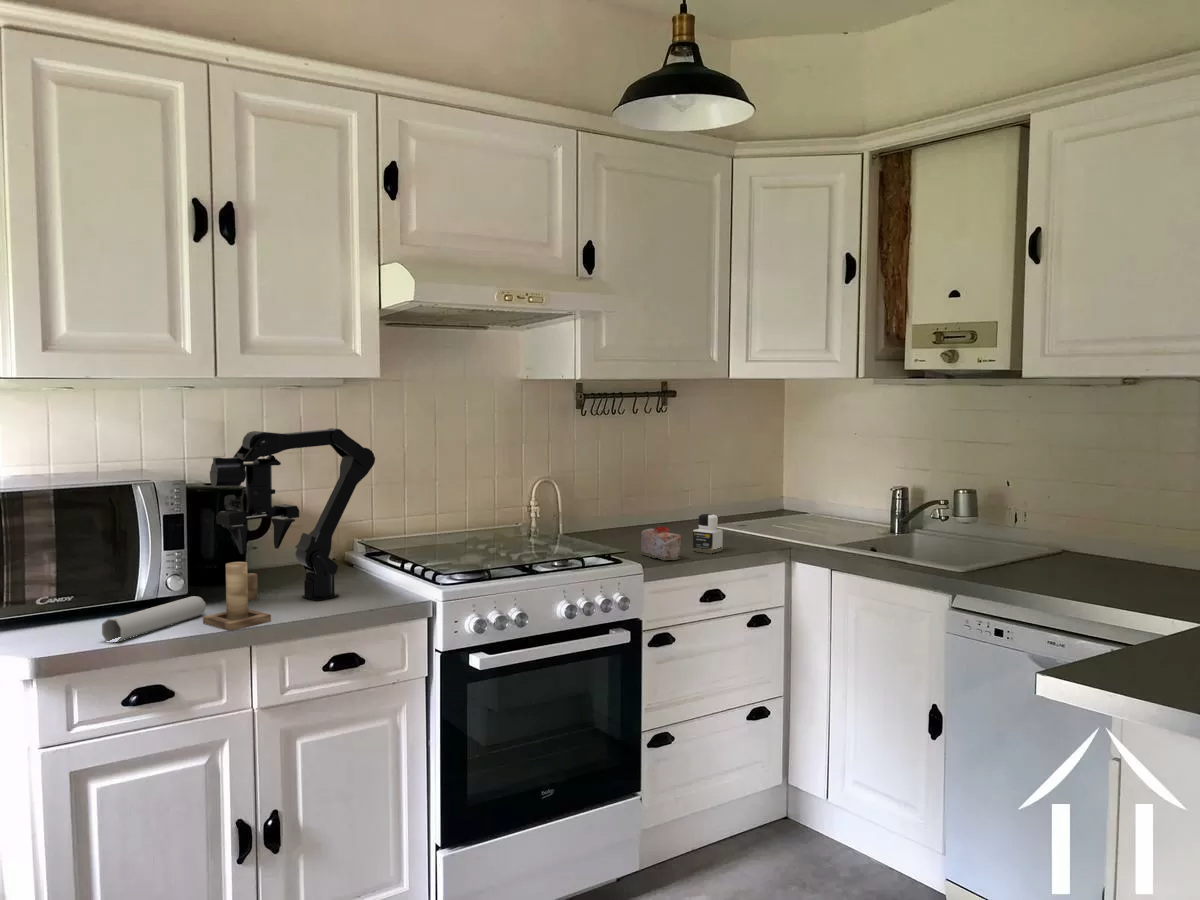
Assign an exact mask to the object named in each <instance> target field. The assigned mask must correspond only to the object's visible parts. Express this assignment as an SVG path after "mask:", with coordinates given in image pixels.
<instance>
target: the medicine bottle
mask: <svg viewBox="0 0 1200 900" xmlns="http://www.w3.org/2000/svg"><path fill="white" fill-rule="evenodd" d="M718 521H719V519H718V516H717V515H716V514H713V513H702V514H700V515H698V528H696V529H693V530H692V549H693V548H701V549H710V550H713V549H717V548H720V547H722V548H723V540H724V539H723V534H724V531H723V529H721V528H718V527H719V526H718Z"/></svg>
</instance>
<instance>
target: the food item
mask: <svg viewBox="0 0 1200 900" xmlns="http://www.w3.org/2000/svg"><path fill="white" fill-rule="evenodd" d="M640 533H641V534H640V535H641V537H640V540H641V541H640V552H641V551H642V552H645V553H650V554H652V555H655V556H658V557H661V558H664V559H665V558H675V557H678V556H679V557H680V552H681V547H682V546H681V541H682V537H681V536H682V535H681V534H678V533H673V532H672V533H671V531H670V529H669V528H668V527H667V526H666V527H665V526H663V527H662V526H661V525H660V526H657V527H654V528H647V529H643V530H642V531H641V532H640Z"/></svg>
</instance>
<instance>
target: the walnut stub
mask: <svg viewBox="0 0 1200 900" xmlns="http://www.w3.org/2000/svg"><path fill="white" fill-rule="evenodd" d="M247 582H248V602H253V601H252V600H255V601H257V600H258V599H257V598H259V597H258V574H257V573H254V572H253V573H252V572H249V573H248V572H247ZM256 599H257V600H256Z"/></svg>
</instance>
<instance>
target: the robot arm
mask: <svg viewBox="0 0 1200 900" xmlns="http://www.w3.org/2000/svg"><path fill="white" fill-rule="evenodd" d="M322 446H331V448H332V449H333V450H334V451H335V452H336V454H337V455H339V456H340V458H341V461H340V465H339V477H338V479H337V481H336V483H335V485H334V487H333V490H332V492H331V494H330V496H329V498H328V500H327V502H326V504H325V506H324V508H323V509H322V512H321V514H320V516H319V518H318V521H316V522H317V523H316V524H315V526H314V528H313V529H312V530H311V531H310V532H309V533H305V532H302V534H301V536H300V540H299V542H298V543H297V544H296V545H295V546H294V548H295V549H296V551H295V557H296V560H297V562H298V564H300V565H302V568H303V570H304V571H306V572H305V579H304V581H303V582H304V584H303V585H304V587H303V588H304V589H303V590H304V594H302V595H301V598H304V599H308V600H311V601H315V602H316V601H317V602H318V601H324V600H328V599H331V598H332V599H333V598H337V597H339V595H340V594H339V593H335V592H336V591H335V586H336V584H335V582H336V581H335V575H336V574H337V572H338V568H339V565H338V564H337V563H336V562H334V560H332V558H330V555H331V551H332V544H333V543H332V541H333V537H334V533H335V531H336V529H337V527H338V524H339V523H340V520H341V518H342V516H343V514H344V512H345V509H346V508H347V505H348V504H349V503H350V500H351V498H352V496H353V493H354V491H355V489H356V487H357V485H358V484H359V483H360V482H361V481H362V480H363V479H364V478H365V477H367V475H368V474H369V472H370V471H371V469H372V468H374V467H373V466H374V465H375V462H376V457H375V453H374V452H373V451H372V450H371V448H368V447H363V446H362V445H361V444H360V443H359V442H357V441H355V440H354V439H353V438H352V437H350V436H348V435H347V434H346V433H345V432H344V431H343V430H342V429H340V428H334V427H330V428H327V429H320V430H319V429H318V430H317V429H316V430H308V431H297V432H285V433H280V432H269V431H261V430H260V431H259V430H258V431H257V430H253V431H249V432H247V433H246V434H245V435H244V436H243V439H242V444H241V446H240V447H239V448H238V449H237V452H236V453H234V455H233V457H214V456H213V457H212V464H211V466H210V471H209V479H210V485H211V486H212V488H229V487H232V488H233V487H240V486H241V484H242V483H244V482H245V488H242V491H241V496H236V495H235V494H228V495H226V496H224V499H223V500H224V503H223V505H224V508H225V509H226V510H222V511H219V512H218V513H217V515H216V525H221V526H222V528H226V529H227V530H228V531H229V532H230V534H231V535H232V537H233V539H234V542H235V544H236V546H237V550H238V552H239V553H240V555H245V551H246V546H247V534H248V525H245V523H246V522H247V521H250V520H251V521H252V520H259V519H267V518H270V521H271V523H272V525H273V547H274V549H276V550H278V549H279V548H280V547H281V544H282V543H283V540H284V538H285V536H286V534H287V532H288V530H289V528H290V527H291V525H292V523H293V522H295V521H296V519H295V518H300V516H301V513H300V508H299V507H298V505H296V504H295V505H293V504H286V503H285V504H284V503H283V504H273V495H274V494H276V489H274V488H273V486H272V485H273V482H272V479H273V477H272V476H273V475H272V471H273V469H272V467H273V466H281V465H282V463H281V461H279V460H278V459H277V458H276V456H275V455H276V454H279V453H281V452H283V451H286V450H292V449H293V450H294V449H302V448H311V447H312V448H313V447H322ZM264 457H266V458H264Z"/></svg>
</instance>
